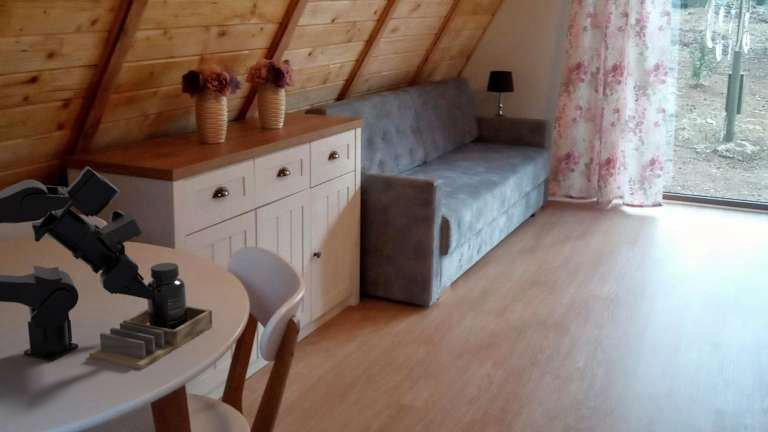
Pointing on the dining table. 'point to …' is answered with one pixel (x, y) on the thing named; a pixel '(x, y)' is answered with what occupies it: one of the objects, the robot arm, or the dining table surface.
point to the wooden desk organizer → (149, 338)
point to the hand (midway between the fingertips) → (147, 289)
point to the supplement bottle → (167, 297)
